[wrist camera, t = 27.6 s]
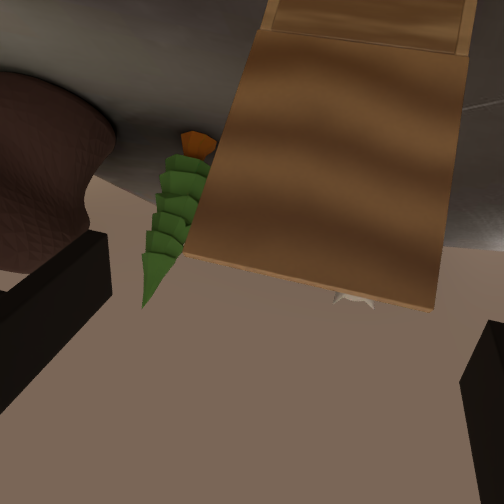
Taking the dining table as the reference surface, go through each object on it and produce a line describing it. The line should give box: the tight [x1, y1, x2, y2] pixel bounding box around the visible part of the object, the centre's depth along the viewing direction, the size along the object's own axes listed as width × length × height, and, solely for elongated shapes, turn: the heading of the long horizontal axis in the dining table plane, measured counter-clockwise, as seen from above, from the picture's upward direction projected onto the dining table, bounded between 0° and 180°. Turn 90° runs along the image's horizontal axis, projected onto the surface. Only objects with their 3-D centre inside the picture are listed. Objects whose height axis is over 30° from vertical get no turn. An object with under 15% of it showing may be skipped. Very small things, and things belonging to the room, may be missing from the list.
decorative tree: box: [142, 131, 217, 308], centre depth 73 cm, size 10×9×30 cm
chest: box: [260, 0, 477, 57], centre depth 38 cm, size 16×14×12 cm
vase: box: [0, 72, 116, 274], centre depth 78 cm, size 27×27×30 cm
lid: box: [182, 30, 469, 313], centre depth 27 cm, size 16×14×1 cm
